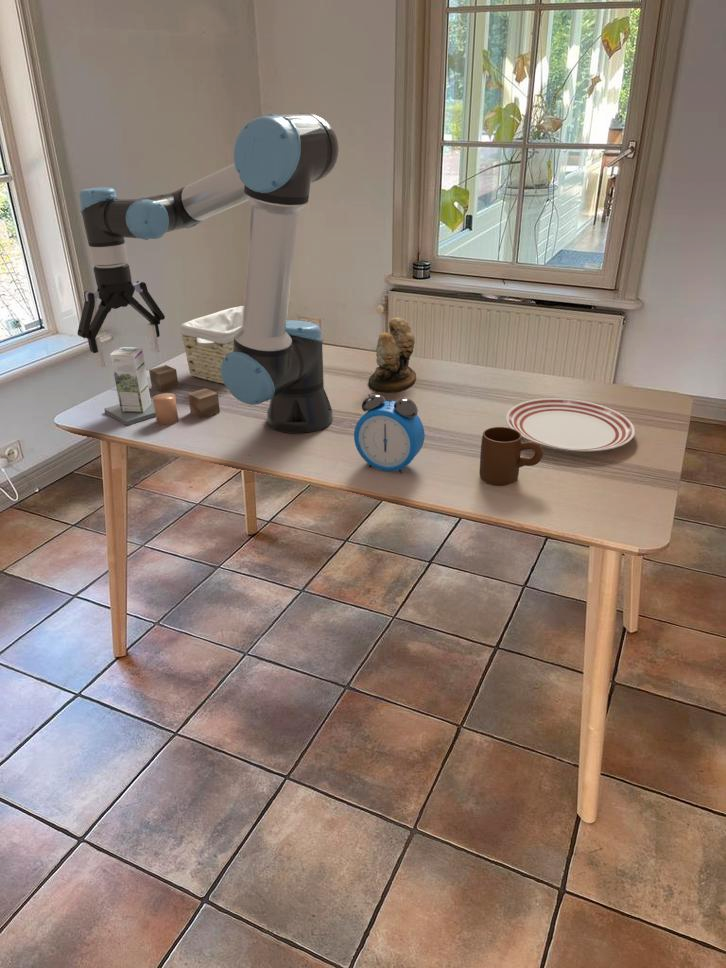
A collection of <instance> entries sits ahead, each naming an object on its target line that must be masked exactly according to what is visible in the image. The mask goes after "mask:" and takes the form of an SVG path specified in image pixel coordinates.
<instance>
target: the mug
mask: <svg viewBox="0 0 726 968" xmlns="http://www.w3.org/2000/svg"><path fill="white" fill-rule="evenodd" d="M522 438H523V437H522V436H521V433H520V432H518V431H517V430H514V429H511V428H510V427H507V426H506V427H505V426H493V427H490V428H487V429H485V430H484V431H483V432H482V437H481V445H480V456H479V457H480V458H479V459H480V461H479V477H480V479H481V481H483V482H484V483H486V484H488V485H491V486H494V487H495V486H496V487H505V486H510V485H513V484H514V483H516V482H517V480H518V478H519V474H520V468H523V467H524V466H526V467H532V466H535V465H537V464H539V463H540V462H541V461H542V459H543V456H544V451H543V446H541V445H539V444H538V443H536V442H533V441H529V440H527V441H522ZM528 450H533V451H534V455H533V456H531V457H530V456H522V455H521V454H522V451H528Z"/></svg>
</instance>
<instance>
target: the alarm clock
mask: <svg viewBox="0 0 726 968" xmlns="http://www.w3.org/2000/svg"><path fill="white" fill-rule="evenodd" d="M361 410H362V411H363V412H365V413H364V414H363V415H362V416H361V417H360V418H359V419H358V421H357V422H356V424H355V427H354V431H353V432H354V433H353V438H354V439H353V440H354V445H355V447H356V450H357V452H358V454H359V456H360V457H361V458H362V459H363V460H364V461H365V462H366V463H367V464H368V465H369V468H371V467H373V468H374V469H378V470H379V471H384V472H396V471H398V472H399V473H400V474H403V471H402V469H405V468H406V467H407V466H408V465H409V464H411V462H412V461H413V460H414V459H415V457H416V456H417V455H418V453H420V451H421V449H422V447H423V445H424V442H425V436H426V435H425V427H424V425H423V422H422V420H421V418H420V416H419V415H418V412H419V409H418V406H417V404H416V402H414V401H413V400H412V399H410V398H409V397H408V398H406V397H401V398H398V399H397V400H396V401H395V400H393V399H388V398H387V399H385V397H384V396H383V395H382V394H379V393H373V394H368V396H366V397H365V398H364V399H363V401H362V403H361Z"/></svg>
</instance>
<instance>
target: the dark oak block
mask: <svg viewBox="0 0 726 968" xmlns="http://www.w3.org/2000/svg"><path fill="white" fill-rule="evenodd" d="M148 372H149V378H150V385H151V388H152V389H154V390H156V391H157V392H160V393H167V392H169V391H172V390H176V389H179V387H180V386H179V379H178V372H177V369H176V368H174V367H171V366H170V365H166V364H165V365H161V366H157V367H154V368H150V369H148Z"/></svg>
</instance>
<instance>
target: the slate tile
mask: <svg viewBox="0 0 726 968" xmlns="http://www.w3.org/2000/svg"><path fill="white" fill-rule="evenodd" d="M105 412H106V413H105ZM104 413H105V414H106V415H108V414H109V415H108V416H110V417H112V418H113V417H114V418H113V419H116V420H117V421H118V422H120V423H122V424H124V425H126V426H129V425H133V424H136V423H140V422H142V421H145V420H149V419H152V418H156V415H155V408H154V402H153V399H151V405H150V406H149V407H148V409H147V410H146V411H145V412H143V413H141V412H121V408H120V403H119V404H116V405H112V406H109V407H105V408H104Z"/></svg>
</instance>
